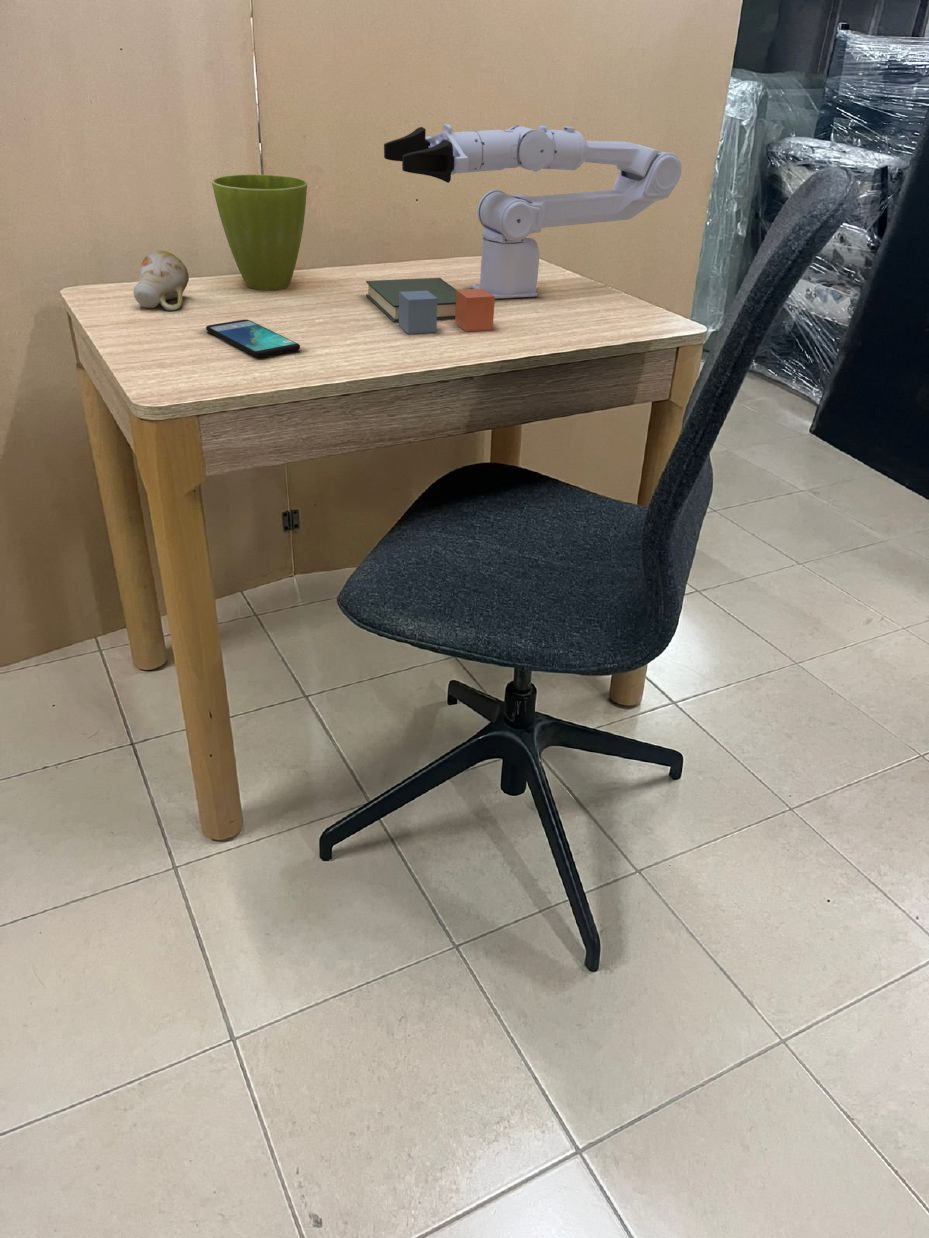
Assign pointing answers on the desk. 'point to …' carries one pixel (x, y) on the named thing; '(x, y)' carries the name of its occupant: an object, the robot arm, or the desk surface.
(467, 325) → the terracotta block
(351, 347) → the desk surface
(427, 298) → the slate block
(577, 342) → the desk surface
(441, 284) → the book
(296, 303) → the desk surface
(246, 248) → the flower pot
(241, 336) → the smartphone
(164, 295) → the mug
